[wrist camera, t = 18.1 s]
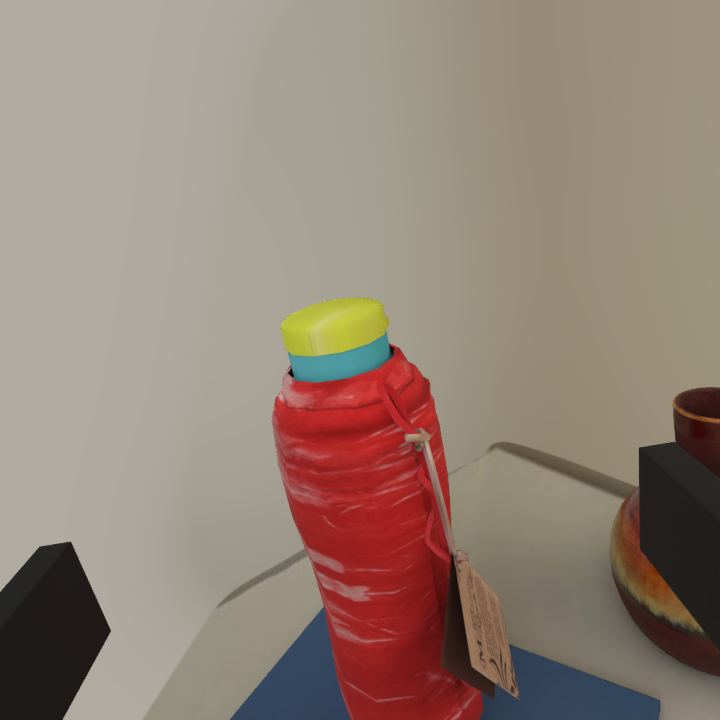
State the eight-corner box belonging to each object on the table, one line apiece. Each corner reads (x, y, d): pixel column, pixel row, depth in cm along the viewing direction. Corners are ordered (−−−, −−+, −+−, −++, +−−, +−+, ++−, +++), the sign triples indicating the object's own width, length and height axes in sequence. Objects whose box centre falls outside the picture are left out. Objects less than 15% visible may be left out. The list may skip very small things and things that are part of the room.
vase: (878, 720, 26) (929, 451, 21) (633, 698, 29) (627, 462, 24) (771, 562, 36) (788, 356, 31) (598, 558, 39) (588, 372, 34)
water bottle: (583, 770, 26) (546, 282, 18) (480, 918, 21) (369, 362, 13) (417, 634, 35) (343, 277, 27) (322, 718, 31) (202, 323, 23)
